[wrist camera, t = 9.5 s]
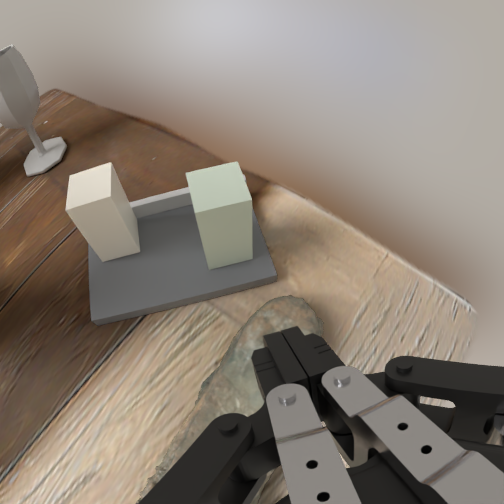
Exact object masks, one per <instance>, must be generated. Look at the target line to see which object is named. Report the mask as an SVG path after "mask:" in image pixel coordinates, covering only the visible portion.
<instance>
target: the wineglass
mask: <svg viewBox="0 0 504 504" xmlns="http://www.w3.org/2000/svg"><path fill="white" fill-rule="evenodd" d="M39 105H40V98H39V92H38V86H37V84H36V81H35V79H34V76H33V74H32V72H31V70H30V69H29V67H28V65H27V64H26V62H25V60H24V59H23V57H22V55H21V54H20V52H19V51H18V50H17V49H16V48H15V46H14V45H13V44H11V45H9V46H7V47H5V48H3V49H1V50H0V123H1V124H2V125H3V126H4V127H5V128H25V129H26V131H27V133H28V134H29V136H30V138H31V140H32V142H33V144H34V146H35V148H34V149H33V150H31V151H30V153H29V155H28V157H27V158H26V160H25V162H24V164H23V165H24V168H25V171H26V174H27V176H28V177H29V176H33V175H38V174H42V173H45V172H46V171H47V170H49V169H50V168H52V167H53V166H54V165H56V164H57V163H59V162H60V161H61V159H62V157H63V155H64V153H65V150H66V148H67V145H66V144H65V142H64V141H63V139H62V137H57V138H53V139H49V140H46V141H44V142H43V143H42V142H41V140H40V139H39V137H38V135H37V133H36V131H35V129H34V127H33V125H32V122H33V119H34V117H35V115H36V112H37V110H38V108H39Z"/></svg>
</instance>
